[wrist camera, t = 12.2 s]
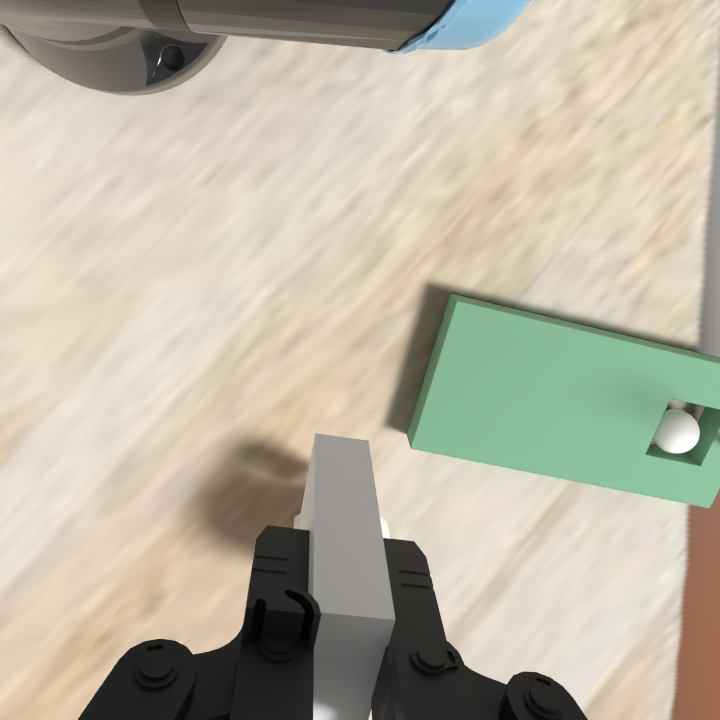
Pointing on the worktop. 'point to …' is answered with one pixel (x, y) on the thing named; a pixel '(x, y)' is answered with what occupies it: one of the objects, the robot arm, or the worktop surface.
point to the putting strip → (566, 402)
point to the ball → (676, 432)
